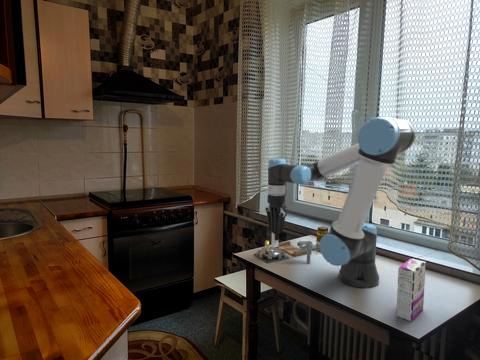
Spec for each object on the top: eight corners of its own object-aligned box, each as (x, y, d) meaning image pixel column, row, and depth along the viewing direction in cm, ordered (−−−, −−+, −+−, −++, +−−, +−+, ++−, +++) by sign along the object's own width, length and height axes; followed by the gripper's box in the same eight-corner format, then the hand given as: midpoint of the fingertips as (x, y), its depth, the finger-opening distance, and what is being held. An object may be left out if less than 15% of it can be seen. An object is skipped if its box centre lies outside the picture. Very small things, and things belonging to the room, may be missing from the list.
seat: (308, 254, 160) (308, 249, 159) (295, 257, 156) (295, 252, 156) (288, 245, 173) (289, 241, 173) (276, 247, 169) (276, 243, 169)
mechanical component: (320, 264, 146) (321, 243, 145) (297, 264, 146) (298, 242, 145) (319, 262, 149) (319, 241, 148) (296, 262, 149) (297, 240, 148)
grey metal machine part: (290, 256, 153) (290, 240, 152) (267, 261, 147) (267, 244, 146) (274, 248, 165) (274, 233, 164) (252, 252, 158) (252, 236, 157)
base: (289, 258, 154) (289, 256, 154) (267, 263, 148) (267, 261, 148) (274, 251, 164) (274, 249, 164) (253, 255, 158) (253, 253, 158)
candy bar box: (407, 304, 111) (410, 257, 109) (423, 309, 108) (427, 261, 106) (394, 316, 103) (397, 266, 101) (411, 322, 100) (415, 271, 98)
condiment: (314, 248, 168) (315, 226, 167) (330, 249, 168) (331, 226, 166) (317, 253, 161) (317, 229, 159) (334, 253, 160) (335, 230, 159)
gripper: (260, 192, 146) (259, 243, 149) (278, 197, 135) (276, 252, 138) (274, 191, 150) (273, 241, 153) (292, 196, 139) (290, 249, 142)
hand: (274, 246), depth 145 cm, fingers closed
